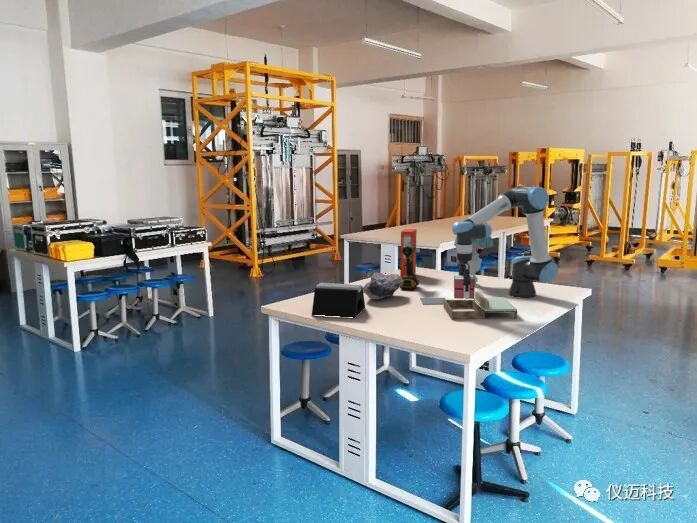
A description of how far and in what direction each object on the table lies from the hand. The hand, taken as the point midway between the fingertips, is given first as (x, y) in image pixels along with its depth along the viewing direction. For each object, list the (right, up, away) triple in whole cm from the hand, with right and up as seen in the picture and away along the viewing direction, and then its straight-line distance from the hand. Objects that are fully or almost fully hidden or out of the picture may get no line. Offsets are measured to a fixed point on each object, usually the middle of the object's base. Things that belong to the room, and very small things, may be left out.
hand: (464, 295), depth 288 cm
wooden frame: (+8, -10, +1) cm, 12 cm away
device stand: (-64, -10, +7) cm, 65 cm away
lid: (+16, -5, 0) cm, 16 cm away
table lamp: (+19, +1, +67) cm, 70 cm away
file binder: (-18, +7, +101) cm, 103 cm away
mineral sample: (-39, -5, +36) cm, 54 cm away
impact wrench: (-23, 0, +63) cm, 67 cm away
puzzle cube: (0, -1, 0) cm, 1 cm away
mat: (-11, -6, +27) cm, 30 cm away
